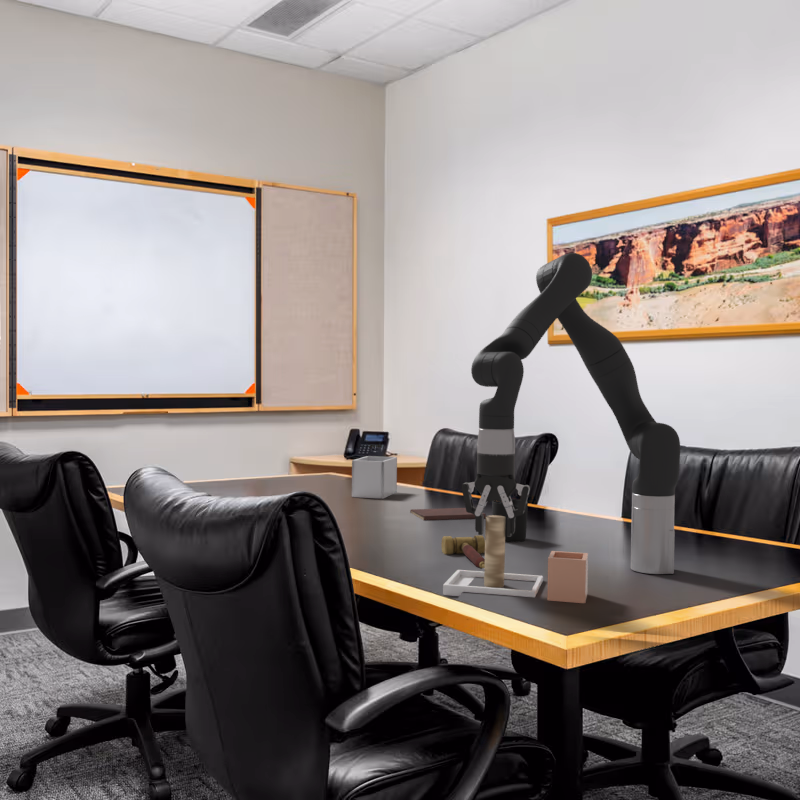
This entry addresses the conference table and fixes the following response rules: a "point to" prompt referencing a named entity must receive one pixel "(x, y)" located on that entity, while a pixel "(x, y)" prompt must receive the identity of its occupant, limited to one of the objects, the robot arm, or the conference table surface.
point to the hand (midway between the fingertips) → (494, 534)
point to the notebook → (443, 514)
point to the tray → (464, 578)
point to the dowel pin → (494, 551)
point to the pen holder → (520, 521)
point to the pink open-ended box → (567, 576)
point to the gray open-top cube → (374, 477)
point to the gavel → (466, 548)
